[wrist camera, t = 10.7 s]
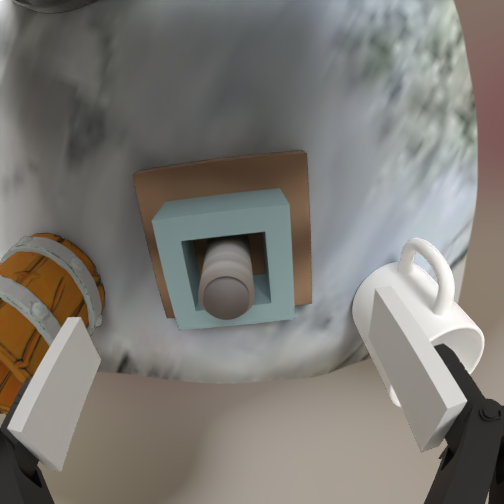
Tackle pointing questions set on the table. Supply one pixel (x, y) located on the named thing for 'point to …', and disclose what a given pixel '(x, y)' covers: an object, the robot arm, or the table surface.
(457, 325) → the cup
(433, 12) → the table surface
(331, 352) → the table surface
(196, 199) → the ring
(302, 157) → the post block
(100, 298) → the mug
